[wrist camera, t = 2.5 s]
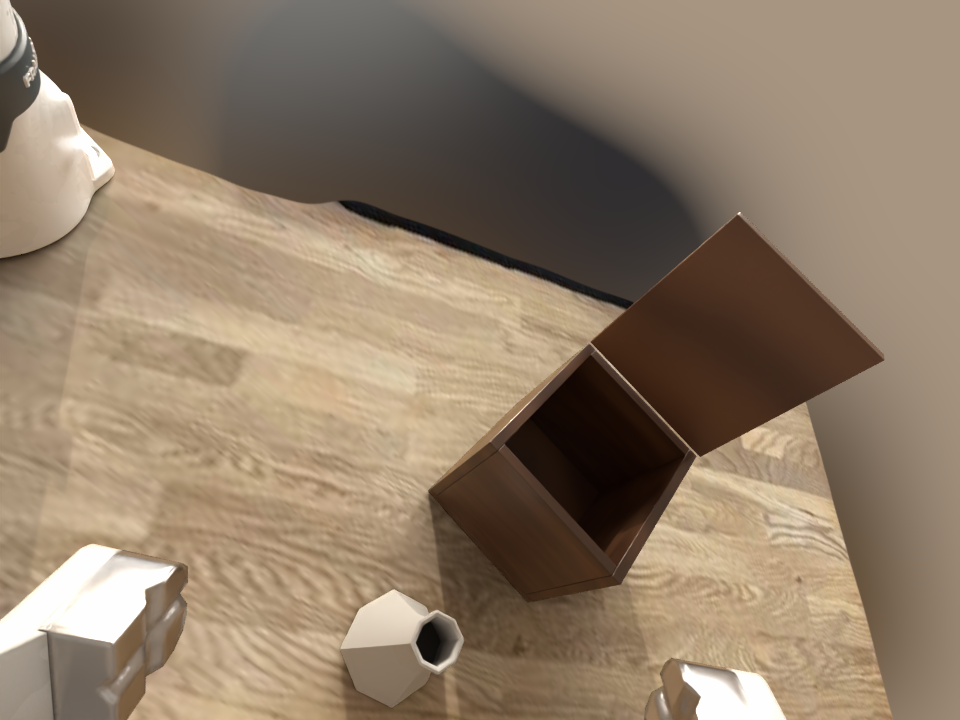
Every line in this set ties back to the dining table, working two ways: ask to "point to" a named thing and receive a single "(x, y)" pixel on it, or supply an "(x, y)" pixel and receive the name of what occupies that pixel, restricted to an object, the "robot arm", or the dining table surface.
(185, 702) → the dining table surface
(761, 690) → the robot arm
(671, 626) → the dining table surface
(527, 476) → the chest
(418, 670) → the flask
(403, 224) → the dining table surface
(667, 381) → the lid
